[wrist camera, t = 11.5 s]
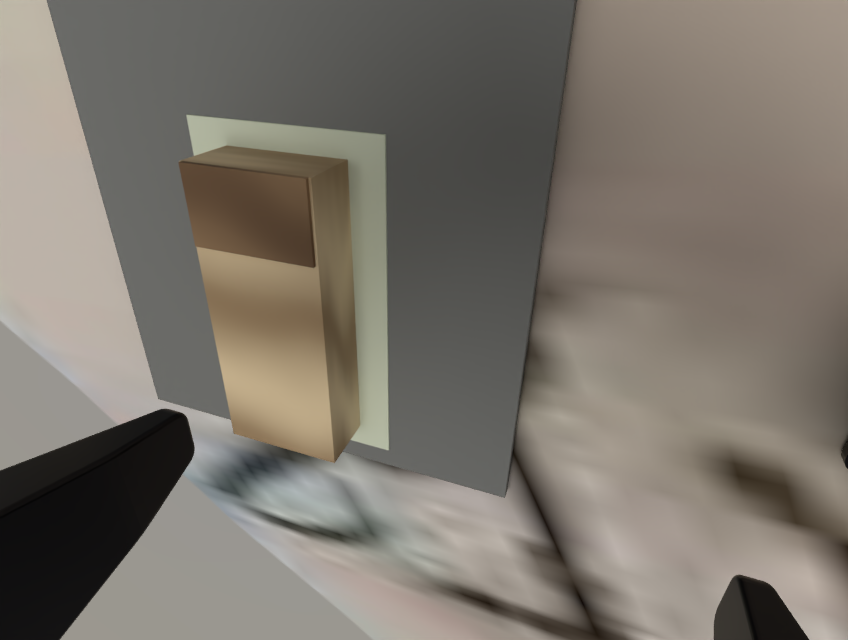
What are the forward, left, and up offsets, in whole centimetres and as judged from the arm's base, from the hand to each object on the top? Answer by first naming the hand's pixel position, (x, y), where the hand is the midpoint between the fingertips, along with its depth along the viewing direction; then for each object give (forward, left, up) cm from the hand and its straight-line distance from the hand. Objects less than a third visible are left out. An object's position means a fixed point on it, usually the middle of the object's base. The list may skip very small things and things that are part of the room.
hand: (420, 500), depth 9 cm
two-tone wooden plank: (+9, +4, -11) cm, 15 cm away
